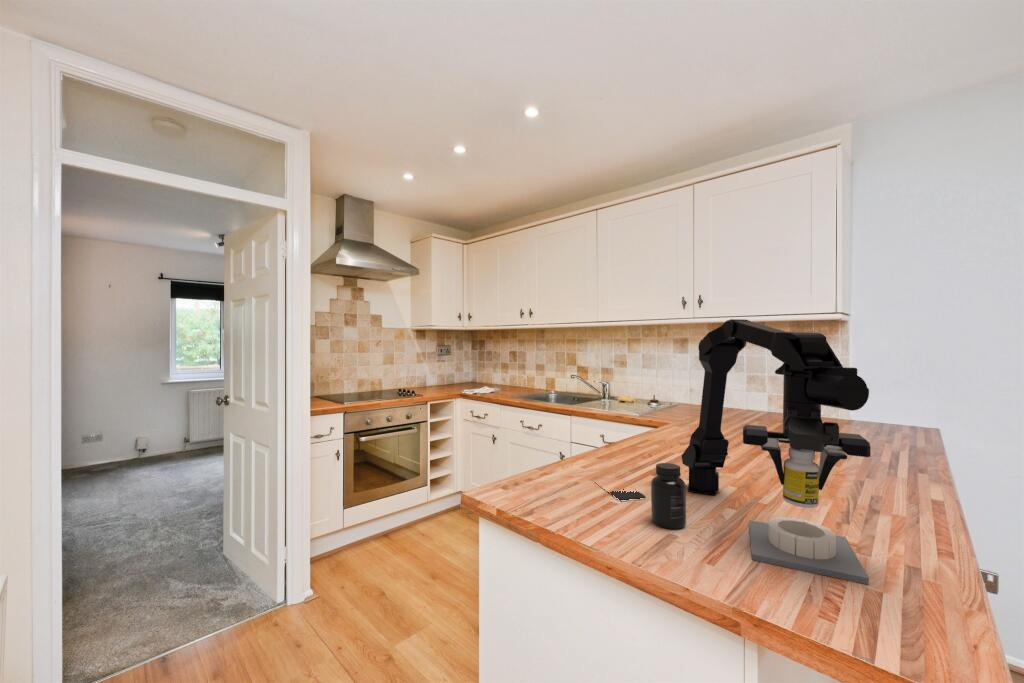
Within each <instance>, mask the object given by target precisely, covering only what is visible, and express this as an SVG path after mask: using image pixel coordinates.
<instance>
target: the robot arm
mask: <svg viewBox="0 0 1024 683" xmlns="http://www.w3.org/2000/svg"><path fill="white" fill-rule="evenodd" d="M747 343H749V344H752V345H755V346H758V347H760V348H764V349H767V350H768V351H770V353H771V355H772V357H774V358H775V359H777V360H778V361H780V362H782V365H780V366H779V367H778V368H776V369H775V370H774V373H775V374H776V375H781V376H783V381H782V382H783V387H782V390H783V391H782V392H783V395H782V396H783V399H782V403H783V404H782V431H781V432H780V431H771V430H770V431H769V430H768V428H767V426H765V425H755V424H754V425H753V424H745V425H744V426H743V427H742V443H743V444H744V445H750V446H758V447H759V446H760V448H761V451H765V452H768V454H769V456H770V458H771V460H772V461H773V464H774V466H775V470H776V473H777V476H778V478H779V479H778V480H779V482H780V484H781V486H783V485H784V475H783V472H784V466H783V462H782V461H783V460H782V453H781V452H782V451H781V448H780V445H779V444H780V443H783V444H784V443H785V444H789V448H790V447H791V448H793V449H796V450H801V449H804V450H813V451H815V453H820V458H819V464H818V466H819V491H822V490H823V488H824V486H825V484H826V482H827V480H828V477H829V476H830V473H831V472H832V469H833V468H834V466H835V465H836V464H837V463H838V462H839V461H840V460H848V457H849V456H852V457H853V456H854V457H865V458H870V457H871V444H870V442H869V441H868V440H867V439H866V438H865V437H863V436H862V435H860V434H858V433H844V432H840V426H839V423H838V422H833V421H832V422H830V421H824V422H823V421H822V420H823V419H822V406H825V407H830V408H835V409H836V408H837V409H842V410H846V411H850V412H851V411H858V410H860V409H861V408H863V407H864V406H865V405H866V403H867V402H868V399H869V395H870V389H869V388H868V386H867V383H866V381H865V380H864V378H862V377H861V376H859V375H858V369H857V367H844V366H843V365H842V363H841V361H840V360H839V359H838V357H837V355H836V354H835V352H834V350H833V349H832V347H831V346H830V344H829V342H828V340H827V336H825V334H824V333H823V334H822V333H820V332H811V331H810V332H809V331H808V332H806V331H786V330H781V329H778V328H774V327H771V326H767V325H764V324H760V323H755V322H753V321H751V320H748V319H741V318H739V319H734V318H733V319H728V320H726V321H725V322H723V324H722V325H721V326H719V327H717V328H715V329H713V330H710V331H709V332H708V333H707V334H706V335H705V336H704V337H703V338H702V339H700V340H699V343H698V360H699V362H700V364H701V366H702V368H703V369H704V375H703V376H704V377H703V383H702V385H703V386H702V392H701V393H702V394H701V402H700V414H699V415H700V416H699V421H698V422H699V424H698V427H697V428H696V429H695V430H694V431H693V432H692V434H691V435H690V439H689V443H688V446H687V447H686V448H685V450H684V452H683V453H682V454H681V461H682V464H683V465H684V466H685V467H688V486H687V492H690V493H691V492H692V493H697V494H703V495H710V496H716V495H717V492H719V489H720V486H719V485H720V484H719V483H720V481H719V480H720V476H719V475H720V473H719V472H718V471H717V468H720V469H723V468H724V467H725V466H724V465H725V462H726V458H727V457H728V455H729V454H728V447H729V444H730V443H729V442H730V441H729V440H728V439H727V438H726V437H725V436H724V434H723V432H722V421H723V412H724V404H725V396H726V395H725V394H726V387H727V378H728V373H729V372H730V371H731V370H732V369H733V367H734V366H735V365H736V363H737V360H738V355H739V353H740V352H741V351H742V350H743V349H744V348H745V347H747Z"/></svg>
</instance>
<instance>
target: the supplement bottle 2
mask: <svg viewBox="0 0 1024 683" xmlns="http://www.w3.org/2000/svg"><path fill="white" fill-rule="evenodd" d="M788 456H789V458H786V459H785V460H784V462H783V475H784V485H782V499H783V501H784V502H786V503H787V504H790V505H791V506H792V505H793V506H795V507H800V508H804V509H813V508H817V507H818V506H819V500H820V498H819V497H820V496H819V494H820V490H819V464H818V463H817V462H814V460H815V458H816V452H815V451H813V450H804V449H801V450H796V449H793V448H791V447H790V446H789V448H788Z"/></svg>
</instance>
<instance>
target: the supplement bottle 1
mask: <svg viewBox="0 0 1024 683" xmlns="http://www.w3.org/2000/svg"><path fill="white" fill-rule="evenodd" d="M655 475H656V476H654V477H653V478H652V479H651V482H650V486H651V488H650V489H651V490H650V494H651V495H650V496H651V497H650V498H651V500H650V501H651V504H650V505H651V506H650V508H651V509H650V510H651V521H652V523H653V524H654V525H656V526H657V527H660V528H663V529H666V530H667V529H668V530H679V529H682V528H683V529H684V527H685V526H686V524H687V495H686V494H687V491H686V486H687V485H686V483H685V481H684V480H683V479H682V478H680V477H681V475H682V474H681V466H680V465H678V464H675V463H671V462H670V463H669V462H660V463H657V464H656V465H655Z"/></svg>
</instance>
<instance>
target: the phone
mask: <svg viewBox="0 0 1024 683" xmlns="http://www.w3.org/2000/svg"><path fill="white" fill-rule="evenodd" d="M623 490H624V489H623ZM637 491H638V490H637ZM637 491H636V492H635V493H634V491H633V492H631V491H630V492H627V493H626V491H624V492H623V491H622V493H621V491H619V492H618V491H617V492H616V491H615V492H614V491H612V492H610V493H611V494H612V495H614V496H615V497H616V498H618V499H619V500H629V499H640V498H645V499H646V495H645V494H643V493H641V492H640V491H638V492H637Z"/></svg>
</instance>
